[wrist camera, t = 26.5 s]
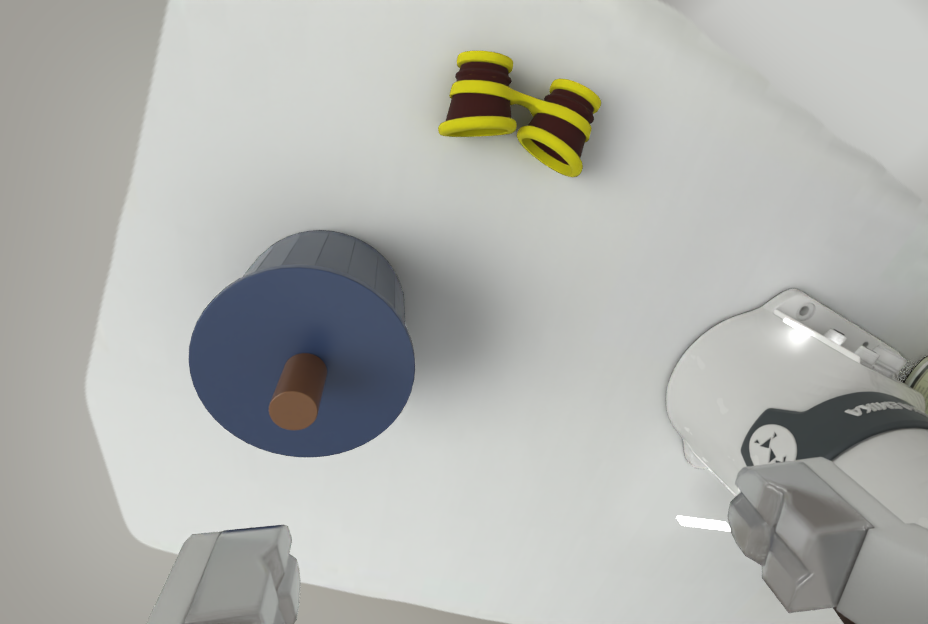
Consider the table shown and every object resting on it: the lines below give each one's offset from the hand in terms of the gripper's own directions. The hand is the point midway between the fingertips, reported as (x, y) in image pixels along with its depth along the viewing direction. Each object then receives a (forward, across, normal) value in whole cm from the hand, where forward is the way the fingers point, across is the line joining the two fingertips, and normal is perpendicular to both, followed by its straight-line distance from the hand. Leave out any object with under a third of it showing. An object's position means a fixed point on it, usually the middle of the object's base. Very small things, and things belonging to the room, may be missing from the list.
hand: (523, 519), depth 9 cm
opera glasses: (+29, -6, -5) cm, 30 cm away
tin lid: (+20, +8, +8) cm, 23 cm away
